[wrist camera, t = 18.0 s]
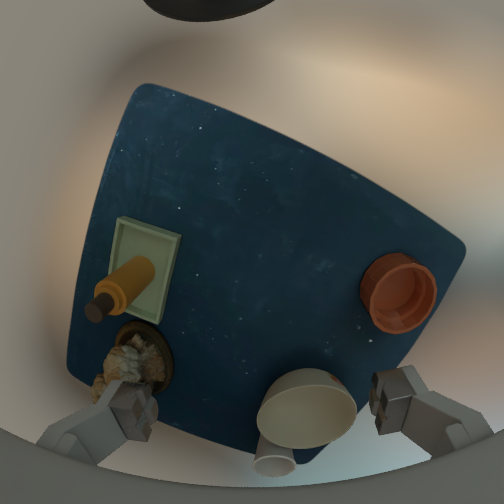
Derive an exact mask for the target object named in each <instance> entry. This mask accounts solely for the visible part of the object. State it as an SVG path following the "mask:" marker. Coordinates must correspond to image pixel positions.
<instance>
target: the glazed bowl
mask: <svg viewBox="0 0 504 504" xmlns="http://www.w3.org/2000/svg"><path fill="white" fill-rule="evenodd" d="M436 294H437V286H436V282H435V278H434V276H433V275H432V274H431V272H430V271H429V270H428V269H427V268H426V267H425V266H424V265H422V264H421V263H419V262H418V261H417V260H415V259H414V258H413V257H411V256H408V255H406V254H403V253H390V254H386V255H385V256H383V257H381V258H379V259H377V260H375V262H374V263H373V264H372V265H371V266H370V267H369V268H368V269H367V270H366V272H365V274H364V277H363V279H362V281H361V284H360V298H361V301H362V303H363V306H364V308H365V310H366V311H367V313H368V315H369V316H370V318H371V320H372V321H373V323H374V324H375V325H376V326H377V327H378V328H379V329H380V330H382V331H383V332H387V333H391V334H399V333H405V332H408V331H410V330H412V329H414V328H416V327H417V326H419V325H420V324H421V323H422V322H423V321H424V320H425V319H426V318H427V317H428V316H429V314H430V312H431V310H432V308H433V306H434V304H435V301H436Z"/></svg>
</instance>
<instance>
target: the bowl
mask: <svg viewBox="0 0 504 504" xmlns="http://www.w3.org/2000/svg"><path fill="white" fill-rule="evenodd" d="M356 415H357V407H356V404H355V401H354V400H353V398H352V396H351V395H350V394H349V392H348V391H347V389H346V388H345V387H344V385H343V384H342V383H341V382H340V381H339V380H338V379H337V378H336V377H335V376H333V375H332V374H330V373H328V372H326V371H323V370H320V369H314V368H303V369H297V370H294V371H291V372H288V373H286V374H284V375H283V376H281V377H280V378H278V379H277V380H276V381H275V382H274V383H273V384H272V385H271V387H270V388H269V389H268V391H267V393H266V395H265V397H264V399H263V402H262V404H261V407H260V409H259V412H258V415H257V426H258V429H259V431H260V432H261V434H262V435H263V436H264V437H265V438H266V439H267V440H269V441H270V442H272V443H274V444H277V445H279V446H283V447H287V448H294V449H306V448H314V447H318V446H322V445H325V444H327V443H330V442H332V441H334V440H336V439H338V438H339V437H341V436H342V435H343V434H345V433H346V432H347V431H348V430H349V429H350V427H351V426H352V425H353V423H354V421H355V418H356Z"/></svg>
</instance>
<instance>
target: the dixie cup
mask: <svg viewBox="0 0 504 504" xmlns="http://www.w3.org/2000/svg"><path fill="white" fill-rule="evenodd" d="M252 468H253V470H254V471H255V472H257V473H258V474H260V475H263V476H268V477H279V476H284V475H287V474H289V473H291V472H292V471H293V470H295V468H296V462H295V461H294V457H293V452H292V448H287V447H283V446H279V445H277V444H274V443H272V442H270V441H269V440H267V439H266V438H265V437H264V436H263V435H262V434H260V438H259V443H258V447H257V451H256V455H255V459H254V462H253V463H252Z"/></svg>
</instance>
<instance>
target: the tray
mask: <svg viewBox="0 0 504 504" xmlns="http://www.w3.org/2000/svg"><path fill="white" fill-rule="evenodd" d="M181 237H182V235H180V234H177V233H174V232H171V231H168V230H165V229H162V228H159V227H156V226H153V225H150V224H147V223H144V222H141V221H138V220H135V219H132V218H129V217H126V216H122V217H119V218H117V222H116V227H115V233H114V239H113V245H112V251H111V257H110V264H109V271H108V275H110V274H111V273H112V272H114V271H115V270H116V269H118V268H119V267H120V266H122V265H123V264H125V263H126V262H127V261H129V260H130V259H131V258H133V257H135V256H144V257H146V258H148V259H149V260H150V261H151V262H152V264H153V265H154V268H155V277H154V280H153V281H152V282H151V283H150V284H149V285H148V286H147V287H146V288H145V289H144V290H143V292H142V293H141V294H140V295H139V296H138V297H137V298H136V299H135V300H134V301H133V302H132V303H131V304H130V305H129V306H128V307H127V308H126V310H125V311H124V312H127V313H129V314H132V315H134V316H137V317H139V318H142V319H144V320H147V321H149V322H152V323H155V324H157V325H158V324H159V323H160V321H161V320H162V318H163V313H164V308H165V303H166V299H167V294H168V290H169V286H170V281H171V277H172V273H173V269H174V264H175V260H176V256H177V252H178V248H179V244H180V240H181Z"/></svg>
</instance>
